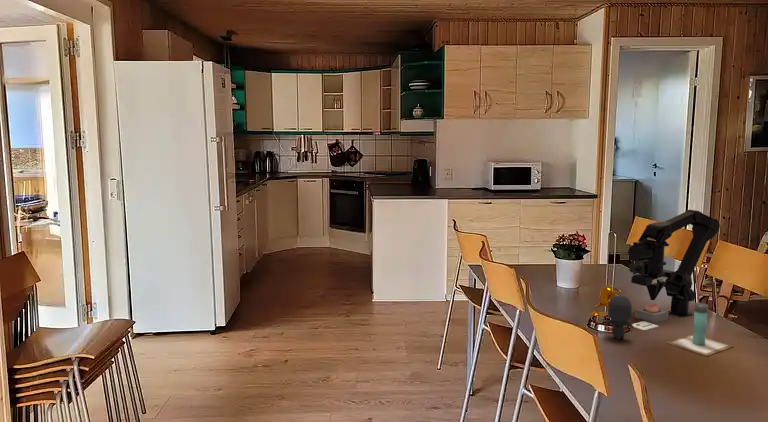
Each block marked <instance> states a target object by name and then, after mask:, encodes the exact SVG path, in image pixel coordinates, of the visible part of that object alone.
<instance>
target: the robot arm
mask: <svg viewBox="0 0 768 422" xmlns="http://www.w3.org/2000/svg"><path fill="white" fill-rule="evenodd" d="M690 225H691V226H692V228H691V232H692V237H691V240H690V242H689V244H688V247H687V248H686V251H685V253H684V255H683V257H682V259H681V262H680V264H678V265H679V266H678V268H677V269H676V271H673V270H669V269H665V268H664V266H666V265H667V261H664V259H665V248H666V247H669V246H670V244H669V243H668V242H667V240H668V239H670V238H671V237H672V236H673V233H675V232H677V231H678V230H681V229H682V228H685V227H687V226H690ZM720 228H721V224H720V223H719V220H718V219H717V218H713V217H711V216H709V215H706V214H705V213H703V212H702V211H699V210H695V209H687V210H685V211H684V212H682V213H680V214H678V215H676V216H674V217H671V218H669V219H667V220H665V221H655V222H652V223H649V224H647V225H646V226H645V229H644V230H643V232H642V234H641V235H640V237H639V239H638V240H637V241H634V242H633V244H632V245H631V246H630V247H629V249H628V250H627V253H628V254H627V255H628V257H629V258H630V260H631V261H632V262H634V263H630V264H629V272H630V273H632V276H631V278H630V283H631V284H635V285H640V286H644V287H646V289H647V292H648V295H649V298H650V300H651V301H655V300H656V299H657V297H658V296H659V294H660V292H661V290H662V289H663V288H665V292H666V293H665V294H666V296H667V297H671V301H670V302H671V303H670V310H669V309H668V310H667V311H668V312H669V315H670V314H671V315H675V316H678V317H682V318H683V317H688V316H691V315H693V312H691V311H689V309H690V308H689V307H690V302H693V301H695V299H696V297H697V294H696V293H695V292H694V290H693V289H692V286H693V280H692V275H693V272H694V270H695V269H696V266H697V265H698V264H697V263H698V262H699V260H700V257H701V255H702V254H703V251H704V248H705V247H706V245H707V243H708V241H710V240H712V239H713V238H714V237H716V235H717V233H718V231H719V230H720ZM641 261H642V264H637V263H635V262H641ZM665 278H666V279H665ZM664 280H665V281H664Z"/></svg>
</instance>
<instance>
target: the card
mask: <svg viewBox="0 0 768 422" xmlns="http://www.w3.org/2000/svg"><path fill="white" fill-rule="evenodd" d="M631 324H632V326H634V327H633V328H635V329H638V330H641V331H644V332H645V331H647V330H652V329H655V328H658V327H659V325H657V324H655V323H652V322H649V321H645V320H642V321H639V322H636V323H635V322H634V323H631Z"/></svg>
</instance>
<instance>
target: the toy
mask: <svg viewBox="0 0 768 422" xmlns="http://www.w3.org/2000/svg"><path fill="white" fill-rule="evenodd" d="M632 307H633V306H632V303H631V301H630V299H629V298H628V297H627V296H624V295H622V296H621V294H619V296H614V297H612V298H611V300H610V302H609V307H607V308H608V310H607V312H608V316H609V317H610V318H611V320H609V321H607V320H606V322H605V323H604V324H603V325H604V326H607V325H610V324H611V325H612V331H611V333H612V338H613V339H614V340H617V338H619V340H620V341H623V340H624V337H625V326H628V327H630V328H635V327H634V326H632V324H633V323H631V322H629V321H630V320H631V318H632Z"/></svg>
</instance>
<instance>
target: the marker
mask: <svg viewBox="0 0 768 422" xmlns="http://www.w3.org/2000/svg"><path fill="white" fill-rule="evenodd" d="M693 310H694V314H693V329H692V331H693V332H692V335H693V340H692V343H693V344H695V345H699V346H703V345H705V338H707V336H706V334H707V320H708V312H709V305H708V304H707V303H703V302H695V303H694V309H693Z"/></svg>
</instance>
